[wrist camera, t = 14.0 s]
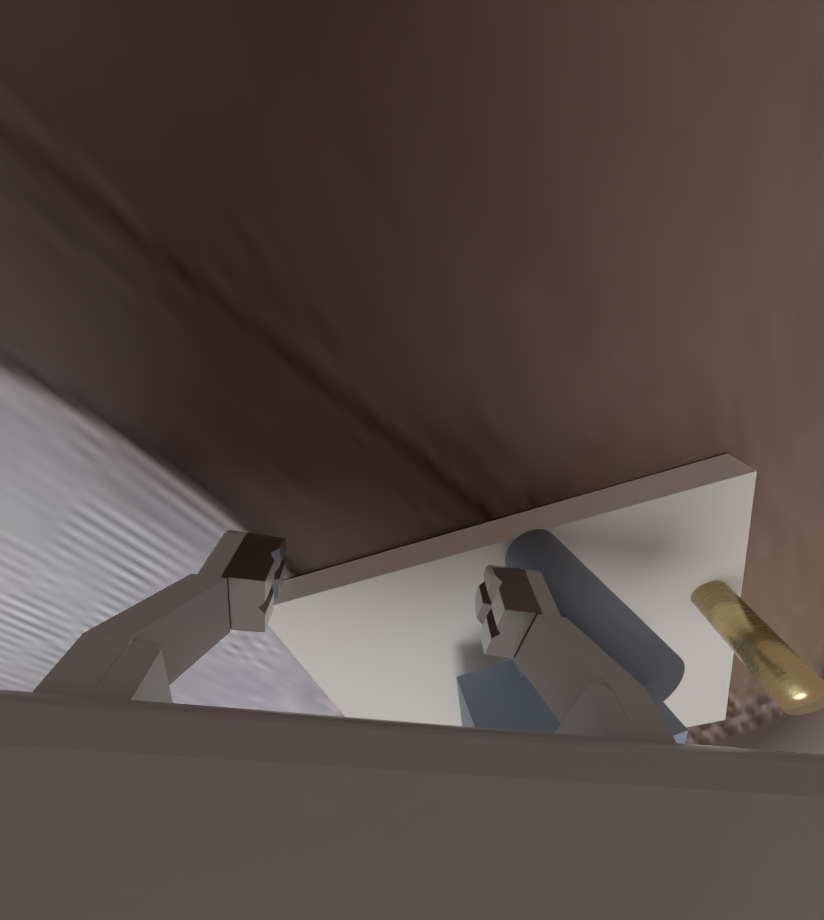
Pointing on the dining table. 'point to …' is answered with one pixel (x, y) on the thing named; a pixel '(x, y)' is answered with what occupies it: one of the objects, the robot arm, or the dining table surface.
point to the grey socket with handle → (598, 616)
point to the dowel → (760, 649)
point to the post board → (472, 549)
